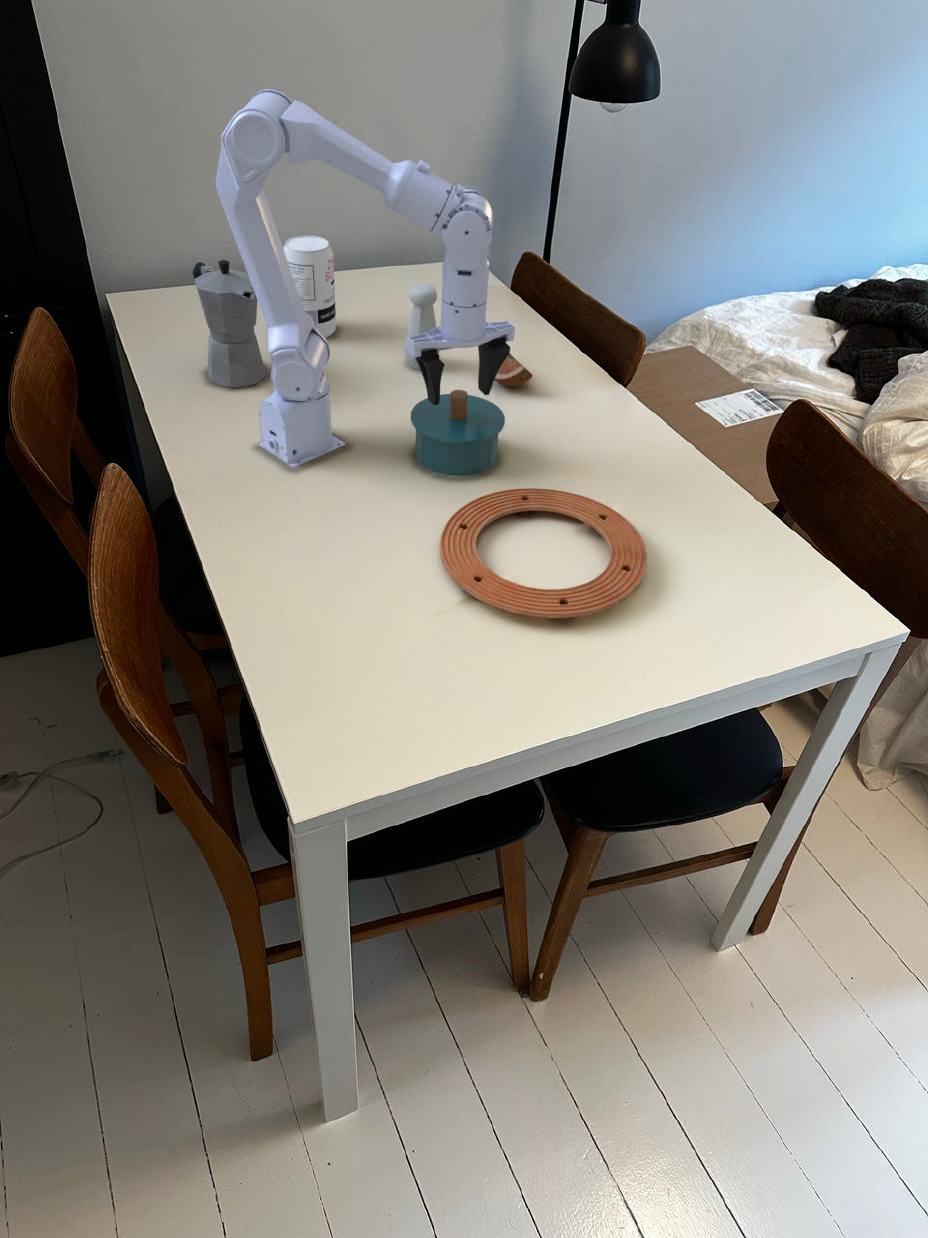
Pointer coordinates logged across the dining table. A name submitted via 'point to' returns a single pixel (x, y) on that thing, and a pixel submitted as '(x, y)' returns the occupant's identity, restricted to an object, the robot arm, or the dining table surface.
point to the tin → (455, 455)
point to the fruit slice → (512, 373)
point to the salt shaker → (420, 316)
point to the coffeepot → (230, 325)
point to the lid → (458, 418)
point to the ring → (535, 602)
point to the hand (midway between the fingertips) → (458, 396)
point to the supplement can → (314, 279)
